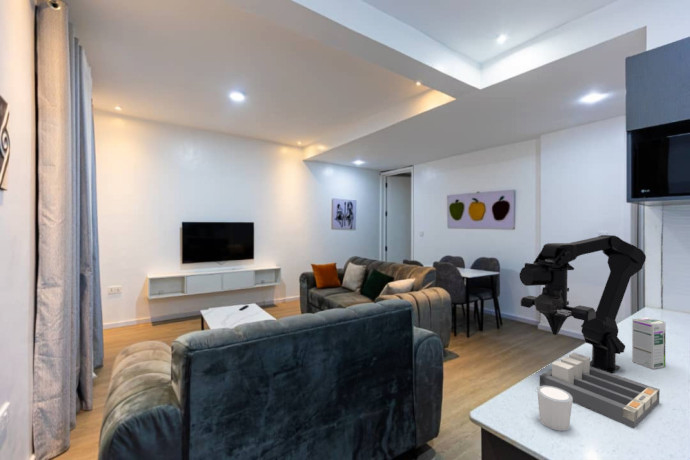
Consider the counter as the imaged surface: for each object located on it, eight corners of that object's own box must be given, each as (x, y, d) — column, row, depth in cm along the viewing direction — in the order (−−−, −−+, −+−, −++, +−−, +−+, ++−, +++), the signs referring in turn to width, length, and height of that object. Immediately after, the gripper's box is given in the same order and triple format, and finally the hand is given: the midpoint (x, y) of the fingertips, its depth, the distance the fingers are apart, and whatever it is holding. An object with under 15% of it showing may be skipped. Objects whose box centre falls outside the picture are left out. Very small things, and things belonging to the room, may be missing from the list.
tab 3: (573, 369, 93) (573, 352, 93) (589, 375, 90) (589, 357, 89) (568, 372, 91) (568, 355, 91) (584, 378, 88) (585, 360, 88)
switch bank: (569, 370, 96) (569, 358, 96) (659, 402, 79) (659, 388, 79) (539, 387, 86) (539, 374, 86) (633, 428, 69) (634, 411, 69)
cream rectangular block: (557, 379, 88) (557, 360, 87) (573, 385, 84) (574, 366, 84) (551, 382, 86) (552, 363, 86) (568, 388, 83) (568, 369, 82)
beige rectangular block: (565, 374, 90) (566, 356, 90) (581, 380, 87) (582, 361, 87) (560, 377, 89) (560, 359, 88) (576, 383, 85) (577, 364, 85)
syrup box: (653, 369, 96) (654, 323, 96) (631, 361, 102) (632, 318, 101) (665, 367, 98) (666, 322, 97) (643, 359, 103) (644, 316, 103)
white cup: (557, 412, 75) (558, 384, 75) (580, 432, 68) (580, 401, 68) (530, 413, 75) (530, 385, 75) (549, 433, 68) (550, 402, 68)
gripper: (511, 282, 99) (510, 330, 99) (579, 294, 83) (578, 351, 83) (529, 278, 105) (529, 324, 105) (597, 288, 89) (596, 342, 89)
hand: (555, 334), depth 96 cm, fingers closed
